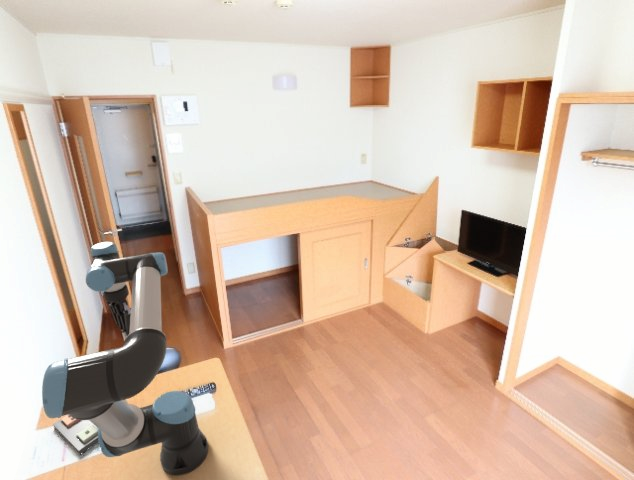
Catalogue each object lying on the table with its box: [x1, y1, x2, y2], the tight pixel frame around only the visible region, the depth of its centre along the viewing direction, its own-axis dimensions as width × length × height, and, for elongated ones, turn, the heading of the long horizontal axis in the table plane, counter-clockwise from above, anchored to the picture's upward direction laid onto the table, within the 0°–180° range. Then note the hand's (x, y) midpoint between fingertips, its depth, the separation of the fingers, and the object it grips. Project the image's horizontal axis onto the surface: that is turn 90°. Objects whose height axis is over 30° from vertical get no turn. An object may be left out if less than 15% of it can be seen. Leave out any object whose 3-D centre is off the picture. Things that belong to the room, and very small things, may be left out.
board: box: [52, 418, 99, 455], centre depth 135 cm, size 20×10×2 cm, turn 55°
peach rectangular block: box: [60, 415, 80, 429], centre depth 138 cm, size 5×5×3 cm
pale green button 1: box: [77, 424, 98, 445], centre depth 132 cm, size 5×5×3 cm
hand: (130, 344), depth 134 cm, fingers closed
